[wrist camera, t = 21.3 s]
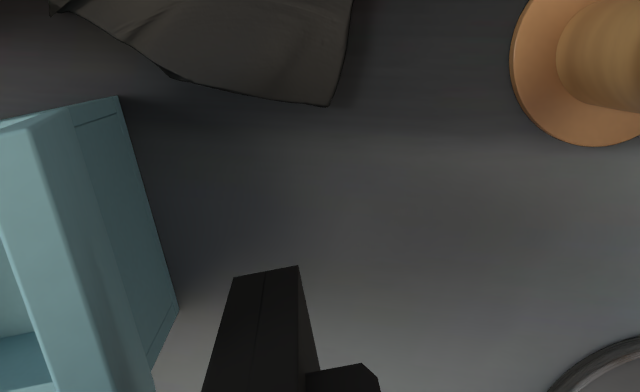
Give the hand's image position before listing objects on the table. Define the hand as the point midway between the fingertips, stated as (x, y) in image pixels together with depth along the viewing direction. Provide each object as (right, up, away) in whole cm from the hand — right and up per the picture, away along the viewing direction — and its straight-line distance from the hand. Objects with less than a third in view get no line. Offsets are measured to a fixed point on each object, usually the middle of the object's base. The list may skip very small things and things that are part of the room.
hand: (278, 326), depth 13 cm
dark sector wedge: (-3, +13, +14) cm, 19 cm away
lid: (-5, -1, +2) cm, 6 cm away
